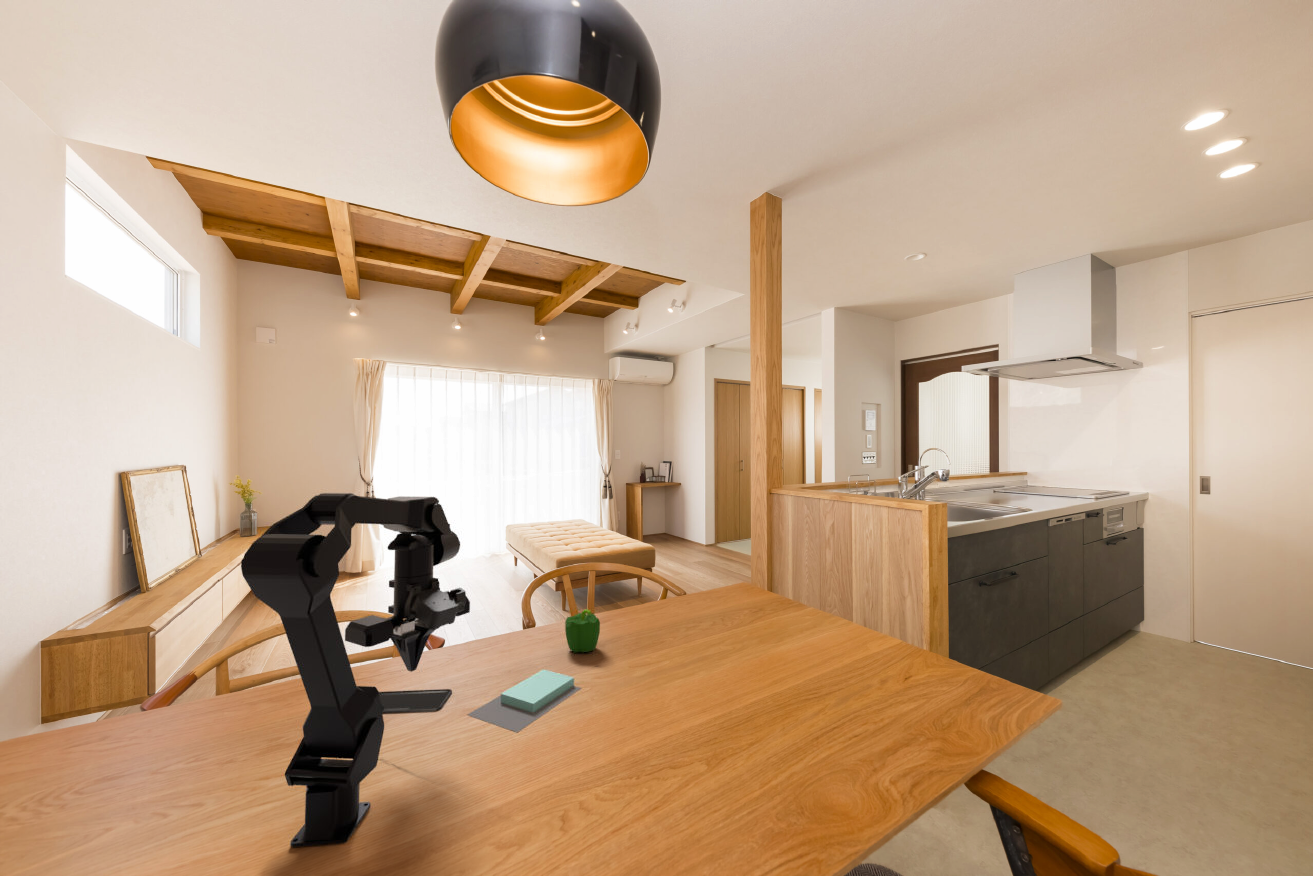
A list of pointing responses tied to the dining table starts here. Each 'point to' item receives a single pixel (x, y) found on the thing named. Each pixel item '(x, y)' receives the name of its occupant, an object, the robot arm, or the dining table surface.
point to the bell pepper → (582, 631)
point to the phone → (414, 700)
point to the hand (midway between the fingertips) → (411, 670)
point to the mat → (515, 712)
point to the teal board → (537, 690)
